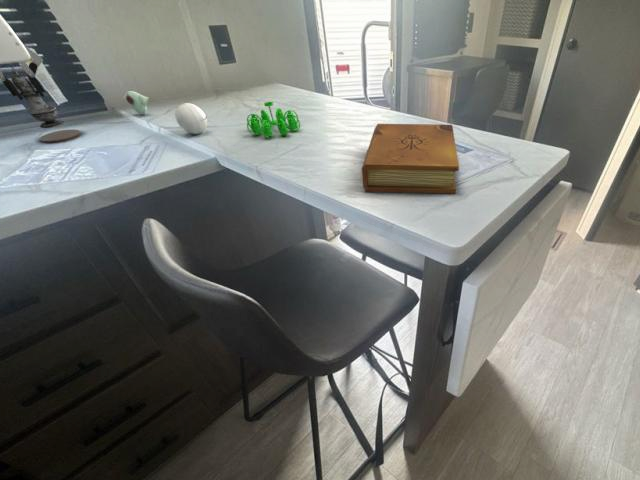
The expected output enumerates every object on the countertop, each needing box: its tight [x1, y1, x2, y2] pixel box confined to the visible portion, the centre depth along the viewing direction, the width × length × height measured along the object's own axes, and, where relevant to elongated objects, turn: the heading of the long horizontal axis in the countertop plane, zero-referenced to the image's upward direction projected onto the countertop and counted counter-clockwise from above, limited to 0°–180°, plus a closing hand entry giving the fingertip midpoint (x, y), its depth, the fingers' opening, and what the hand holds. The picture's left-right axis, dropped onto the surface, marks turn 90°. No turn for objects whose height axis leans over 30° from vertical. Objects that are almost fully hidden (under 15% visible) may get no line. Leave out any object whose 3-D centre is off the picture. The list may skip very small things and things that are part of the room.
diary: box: [361, 123, 460, 195], centre depth 69 cm, size 23×19×6 cm
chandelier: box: [246, 101, 301, 139], centre depth 87 cm, size 15×15×7 cm
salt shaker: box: [10, 70, 66, 129], centre depth 80 cm, size 6×6×12 cm
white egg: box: [174, 102, 208, 135], centre depth 87 cm, size 10×7×7 cm
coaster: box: [39, 128, 82, 144], centre depth 87 cm, size 9×9×1 cm
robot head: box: [123, 90, 150, 116], centre depth 98 cm, size 8×4×7 cm, turn 80°
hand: (31, 96), depth 80 cm, fingers closed on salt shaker, 3 cm apart
